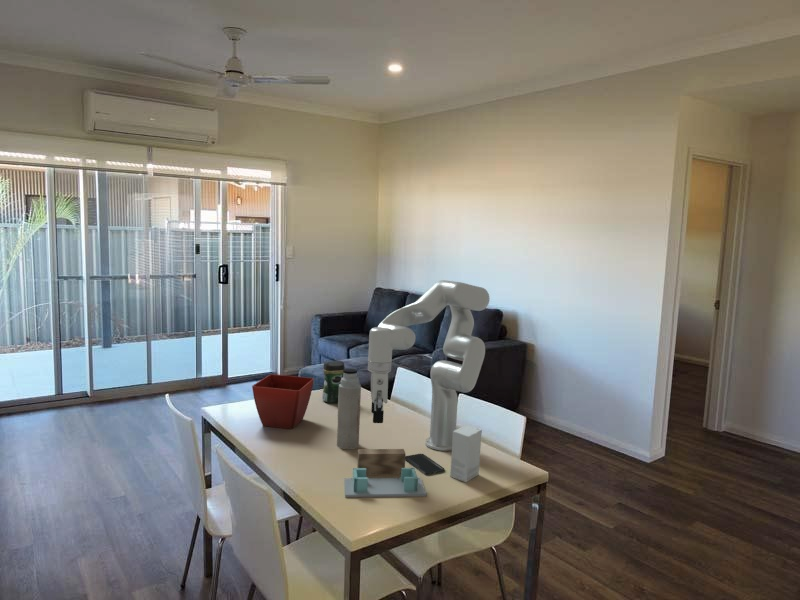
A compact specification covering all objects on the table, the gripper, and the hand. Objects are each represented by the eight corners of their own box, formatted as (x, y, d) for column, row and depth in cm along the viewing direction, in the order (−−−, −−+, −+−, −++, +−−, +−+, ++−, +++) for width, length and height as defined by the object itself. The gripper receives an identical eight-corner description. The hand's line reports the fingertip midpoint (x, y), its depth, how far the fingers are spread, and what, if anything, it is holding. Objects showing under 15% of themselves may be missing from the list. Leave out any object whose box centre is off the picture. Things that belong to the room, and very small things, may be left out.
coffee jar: (339, 397, 261) (340, 358, 259) (346, 402, 254) (347, 362, 252) (319, 399, 256) (321, 359, 254) (326, 404, 249) (327, 363, 247)
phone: (422, 453, 196) (445, 469, 183) (422, 456, 196) (445, 472, 183) (402, 456, 192) (425, 473, 179) (402, 459, 193) (425, 476, 180)
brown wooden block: (402, 469, 184) (403, 448, 183) (404, 474, 180) (405, 453, 179) (357, 469, 182) (358, 449, 181) (358, 475, 178) (358, 454, 177)
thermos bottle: (361, 442, 206) (364, 368, 202) (355, 450, 198) (358, 373, 195) (340, 440, 207) (343, 366, 204) (333, 447, 199) (336, 371, 196)
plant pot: (297, 433, 212) (299, 390, 210) (250, 428, 215) (251, 385, 213) (313, 417, 231) (314, 377, 229) (269, 413, 234) (270, 374, 232)
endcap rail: (420, 479, 176) (421, 465, 176) (426, 496, 165) (427, 480, 165) (344, 480, 173) (344, 466, 173) (345, 497, 162) (345, 481, 162)
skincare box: (463, 469, 186) (466, 424, 184) (480, 475, 182) (483, 429, 180) (449, 477, 179) (451, 430, 178) (466, 483, 175) (469, 435, 174)
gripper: (393, 372, 171) (390, 427, 172) (389, 360, 188) (386, 409, 189) (369, 372, 170) (366, 426, 172) (366, 359, 187) (364, 409, 189)
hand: (377, 417), depth 181 cm, fingers open, 9 cm apart
